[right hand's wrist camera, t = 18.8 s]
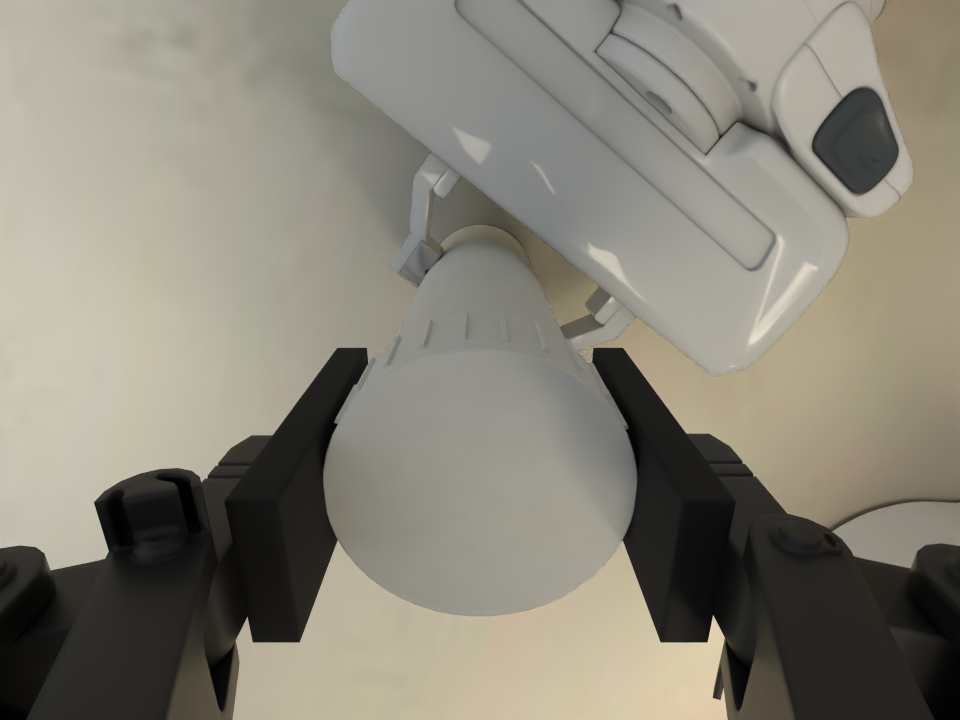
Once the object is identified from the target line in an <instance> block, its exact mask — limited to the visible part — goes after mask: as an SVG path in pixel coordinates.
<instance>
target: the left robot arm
mask: <svg viewBox="0 0 960 720" xmlns="http://www.w3.org/2000/svg"><path fill="white" fill-rule="evenodd" d="M888 1H889V0H348V2H347V3H346V5H345V6H344V8H343V9H342V11H341V12H340V14H339V16H338V17H337V19H336V21H335V23H334V25H333V27H332V29H331V33H330V42H331V53H332V61H333V68H334V71H335V73H336V74H337V75H338V76H339V77H340V78H342V79H343V80H344V81H345V82H346V83H348V84H349V85H350V86H351V87H353V88H354V89H355V90H356V91H358V92H359V93H360V94H361V95H363V96H364V97H365V98H366V99H368V100H369V101H370V102H371V103H373V104H374V105H375V106H376V107H377V108H379V109H380V110H381V111H382V112H384V113H385V114H386V115H387V116H389V117H390V118H391V119H392V120H394V121H395V122H396V123H397V124H399V125H400V126H401V127H402V128H404V129H405V130H406V131H407V132H409V133H410V134H411V135H412V136H413V137H415V138H416V139H417V140H418V141H420V142H421V143H422V144H423V145H425V146H426V147H427V148H428V149H430V150H431V152H430V154H429V155H428V157H427V158H426V160H425V161H424V163H423V164H422V166H421V167H420V169H419V170H418V171H417V173H416V174H415V176H414V177H413V188H412V200H411V213H410V225H409V230H410V231H411V234H410V235H409V236H408V238H407V239H406V241H405V242H404V243H403V245H402V246H401V248H400V249H399V251H398V252H397V253H396V255H395V256H394V258H393V259H392V260H391V262H390V263H389V265H388V267H389V268H390V269H391V270H393V271H394V272H395V273H396V274H398V275H400V276H401V277H403V278H404V279H405V280H407V281H408V282H410V283H411V284H412V285H414V286H415V287H418V286H419V285H420V283H421V282H422V280H423V279H424V277H425V275H426V273H427V270H428V269H431V268H432V267H433V266H434V264H435V263H436V262H437V261H438V259H439V258H440V256H441V255H442V252H443V250H444V248H443V247H442V246H441V245H440V244H438V243H437V242H436V241H435V240H433V239H432V238H431V237H429V235H430V226H431V217H432V207H433V198H434V193H435V194H436V195H437V196H439V197H440V198H441V199H442V198H445V197H446V196H447V195H448V194H449V193H450V191H451V190H452V188H453V187H454V186H455V184H456V183H457V182H458V180H459V179H460V178H461V176H463V177H464V178H466V179H467V180H468V181H469V182H471V183H472V184H473V185H474V186H476V187H477V188H478V189H479V190H481V191H482V192H483V193H484V194H485V195H487V196H488V197H489V198H490V199H492V200H493V201H494V202H495V203H497V204H498V205H499V206H500V207H502V208H503V209H504V210H505V211H507V212H508V213H509V214H510V215H512V216H513V217H514V218H515V219H517V220H518V221H519V222H520V223H521V224H523V225H524V226H525V227H526V228H528V229H529V230H530V231H531V232H533V233H534V234H535V235H536V236H538V237H539V238H540V239H541V240H543V241H544V242H545V243H546V244H548V245H549V246H550V247H551V248H553V249H554V250H555V251H556V252H557V253H559V254H560V255H561V256H562V257H564V258H565V259H566V260H567V261H569V262H570V263H571V264H572V265H574V266H575V267H576V268H577V269H579V270H580V271H581V272H582V273H584V274H585V275H586V276H587V277H589V278H590V279H591V280H592V281H593V282H595V283H596V284H597V285H598V286H599V287H598V288H597V289H596V291H595V292H594V293H593V294H592V295H591V297H590V298H589V299H588V300H587V301H586V303H585V306H586V307H587V309H588V310H589V312H590V313H591V314H590V315H587V316H585V317H582V318H580V319H578V320H575V321H573V322H570V323H568V324H566V325H563V326H561V327H560V329H561V331H562V333H563V335H564V338H565V340H566V339H569V340H570V341H571V343H572V345H573V347H574V349H575V350H576V351H577V352H578V351H581V350H584V349H587V348H589V347H592V346H595V345H598V344H601V343H604V342H607V341H610V340H612V339H615V338H617V337H618V336H619V335H620V334H621V333H622V332H623V331H624V330H625V329H626V328H627V326H628V325H629V324H630V323H631V322H632V321H633V320H634V319H635V318H636V317H638V318H639V319H641V320H642V321H643V322H644V323H646V324H647V325H648V326H649V327H651V328H652V329H653V330H654V331H656V332H657V333H658V334H659V335H660V336H662V337H663V338H664V339H665V340H667V341H668V342H669V343H670V344H672V345H673V346H674V347H675V348H677V349H678V350H679V351H680V352H682V353H683V354H684V355H685V356H687V357H688V358H689V359H690V360H692V361H693V362H694V363H695V364H697V365H698V366H699V367H700V368H702V369H703V370H704V371H705V372H707V373H708V374H709V375H711V376H722V375H727V374H731V373H735V372H739V371H742V370H745V369H747V368H748V367H750V366H751V365H752V364H754V363H755V362H756V361H757V360H758V359H759V358H760V357H762V356H763V355H764V354H765V353H766V352H767V351H768V350H769V349H770V348H771V347H772V346H773V345H774V344H775V343H776V342H777V341H778V340H779V339H780V338H781V337H782V336H783V335H784V334H785V333H786V331H787V330H788V329H789V328H790V327H791V326H792V325H793V324H794V323H795V322H796V321H797V320H798V319H799V317H800V316H801V315H802V314H803V313H804V312H805V311H806V310H807V309H808V308H809V306H810V305H811V304H812V303H813V302H814V300H815V299H816V298H817V297H818V296H819V295H820V293H821V292H822V291H823V290H824V288H825V287H826V286H827V285H828V283H829V282H830V281H831V279H832V278H833V277H834V275H835V274H836V272H837V271H838V269H839V267H840V265H841V264H842V262H843V259H844V257H845V254H846V251H847V248H848V243H849V228H848V224H847V221H846V218H845V217H851V218H874V217H877V216H879V215H881V214H883V213H884V212H886V211H887V210H888V209H889V208H890V207H892V206H893V205H894V204H895V203H896V202H897V201H898V200H899V198H901V197H902V196H903V195H904V194H905V193H906V191H907V190H908V188H909V187H910V185H911V183H912V181H913V177H914V168H913V162H912V159H911V156H910V153H909V150H908V148H907V145H906V143H905V140H904V137H903V135H902V132H901V130H900V127H899V124H898V121H897V119H896V116H895V113H894V110H893V108H892V105H891V102H890V99H889V96H888V93H887V90H886V86H885V83H884V80H883V77H882V73H881V69H880V66H879V62H878V58H877V54H876V49H875V45H874V40H873V36H872V31H871V28H870V26H871V25H872V24H873V23H874V22H875V21H876V20H877V18H878V17H879V16H880V14H881V13H882V11H883V9H884V8H885V6H886V4H887V3H888ZM399 271H400V272H399ZM832 532H833V533H835V534H836V535H837V536H839V537H840V538H842V540H843V541H844V542H845V544H846V545H847V546H848V547H849V549H850V550H851V551H852V553H853V555H854V556H856V557H859V558H863V559H868V560H872V561H877V562H882V563H887V564H892V565H897V566H902V567H906V568H911V566H912V564H913V561H914V558H915V555H916V553H917V551H918V550H919V549H921V548H922V547H923V546H925V545H930V544H939V543H943V544H950V545H957V546H960V502H957V503H949V502H932V501H920V502H908V503H901V504H895V505H891V506H887V507H883V508H880V509H877V510H874V511H871V512H868V513H866V514H863V515H861V516H859V517H856V518H854V519H852V520H850V521H848V522H847V523H845V524H843V525H841V526H840V527H838V528H836V529H835V530H834V531H832Z"/></svg>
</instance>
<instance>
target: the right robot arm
mask: <svg viewBox="0 0 960 720" xmlns="http://www.w3.org/2000/svg"><path fill="white" fill-rule="evenodd" d="M592 363H593V364H594V366H595V368H596V369H597V371H598V373H599V375H600V377H601V379H602V381H603V382H604V384H605V386H606V388H607V390H608V391H609V392H610V394H611V396H612V398H613V400H614V402H615V403H616V405H617V407H618V409H619V411H620V413H621V414H622V416H623V418H624V420H625V422H626V424H627V426H628V429H627V430H626V432H627V434H628V437H629V440H630V442H631V445H632V448H633V451H634V455H635V460H636V466H637V489H636V497H635V505H634V512H633V516H632V520H631V523H630V525H629V527H628V529H627V532H626V534H625V536H624V538H623V542H624V544H625V547H626V550H627V553H628V555H629V558H630V561H631V563H632V566H633V569H634V571H635V574H636V577H637V580H638V582H639V585H640V588H641V590H642V593H643V596H644V599H645V601H646V604H647V607H648V609H649V612H650V615H651V617H652V620H653V623H654V626H655V628H656V631H657V634H658V636H659V639H660V642H708V637H709V632H710V627H711V622H712V617H713V615H714V617H715V619H716V621H717V623H718V625H719V627H720V629H721V631H722V633H723V635H724V637H725V640H724V645H723V649H722V654H721V659H720V663H719V668H718V672H717V677H716V681H715V686H714V693H713V698H715V699H719V700H721V695H722V691H723V687H724V693H725V701H726V709H727V717H728V720H960V546H957V545H950V544H943V543H939V544H930V545H925V546H923V547H922V548H921V549H919V550H918V551H917V553H916V555H915V558H914V561H913V564H912V566H911V568H906V567H902V566H897V565H892V564H887V563H882V562H877V561H872V560H868V559H863V558H859V557H856V556H854V555H853V553H852V551H851V550H850V549H849V547H848V546H847V545H846V544H845V542H844V541H843V540H842V538H840V537H839V536H837V535H836V534H835V533H833V532H832V531H830V530H829V529H828V528H826V527H824V526H822V525H820V524H817V523H815V522H813V521H811V520H809V519H806V518H802V517H798V516H794V515H790V514H787V513H786V512H785V510H784V509H783V508H782V507H781V506H780V504H779V503H778V502H777V501H776V500H775V499H774V497H773V496H772V495H771V494H770V493H769V492H768V490H767V489H766V488H765V487H764V486H763V485H762V483H761V482H760V481H759V480H758V479H757V478H756V477H753V473H752V472H751V471H750V469H749V468H748V467H747V466H746V465H745V464H743V463H742V460H741V459H740V458H739V457H738V455H737V454H736V453H735V452H734V451H733V450H732V448H731V447H730V446H728V445H727V444H725V443H723V442H722V441H720V440H718V439H717V438H715V437H713V436H712V435H710V434H686V433H685V431H684V430H683V429H682V427H681V426H680V425H679V423H678V422H677V421H676V419H675V418H674V417H673V415H672V414H671V412H670V411H669V410H668V408H667V407H666V406H665V404H664V403H663V402H662V400H661V399H660V398H659V396H658V395H657V394H656V392H655V391H654V389H653V388H652V387H651V385H650V384H649V383H648V381H647V380H646V379H645V377H644V376H643V375H642V373H641V372H640V371H639V369H638V368H637V366H636V365H635V364H634V362H633V361H632V360H631V358H630V357H629V356H628V354H627V353H626V352H625V350H624V349H623V348H594V349H593V361H592ZM367 365H368V357H367V348H337V349H336V351H335V352H334V353H333V355H332V356H331V357H330V359H329V360H328V362H327V363H326V364H325V366H324V367H323V368H322V370H321V371H320V372H319V374H318V375H317V376H316V378H315V379H314V380H313V382H312V383H311V385H310V386H309V387H308V389H307V390H306V391H305V393H304V394H303V395H302V397H301V398H300V399H299V401H298V402H297V403H296V405H295V406H294V408H293V409H292V410H291V412H290V413H289V414H288V416H287V417H286V418H285V420H284V421H283V422H282V424H281V425H280V426H279V428H278V429H277V431H276V432H275V433H274V435H273V436H250V437H248V438H247V439H245V440H244V441H242V442H240V443H239V444H237V445H235V446H234V447H232V448H231V449H230V450H229V451H228V452H227V453H226V455H225V456H224V457H223V458H222V459H221V461H220V462H219V463H218V466H215V468H214V469H213V470H212V471H211V472H210V473H209V475H208V479H204V481H203V482H202V483H201V480H200V477H199V476H198V475H196V474H195V473H194V472H192V471H189V470H184V469H179V468H174V469H159V470H154V471H150V472H146V473H141V474H138V475H136V476H133V477H131V478H128V479H126V480H123V481H121V482H119V483H117V484H116V485H114V486H112V487H111V488H109V489H108V490H106V491H104V492H103V493H102V495H101V496H100V497H99V498H98V499H97V500H96V501H95V502H94V504H95V507H96V510H97V514H98V517H99V520H100V523H101V527H102V530H103V533H104V536H105V540H106V543H107V546H108V549H109V552H108V554H107V556H106V558H105V559H103V560H99V561H95V562H90V563H85V564H80V565H75V566H71V567H66V568H61V569H56V570H51V571H50V568H49V565H48V562H47V560H46V557H45V554H44V553H43V552H41V551H40V550H39V549H37V548H36V547H28V546H14V547H7V548H1V549H0V720H232V718H233V711H234V703H235V695H236V687H237V679H238V671H239V656H238V649H237V645H236V638H237V636H238V634H239V632H240V630H241V628H242V626H243V624H244V622H245V620H246V618H247V616H248V621H249V625H250V630H251V635H252V640H253V642H300V640H301V637H302V635H303V632H304V629H305V626H306V624H307V621H308V618H309V616H310V613H311V610H312V608H313V605H314V602H315V599H316V597H317V594H318V591H319V589H320V586H321V583H322V580H323V578H324V575H325V572H326V570H327V567H328V564H329V562H330V559H331V556H332V553H333V551H334V548H335V545H336V543H337V540H338V539H337V537H336V535H335V533H334V531H333V529H332V526H331V524H330V522H329V518H328V515H327V509H326V502H325V494H324V485H323V467H324V462H325V456H326V452H327V449H328V446H329V443H330V440H331V437H332V435H333V433H334V431H335V429H336V427H337V425H338V424H336V423H334V422H335V419H336V417H337V416H338V414H339V412H340V410H341V408H342V406H343V405H344V403H345V401H346V399H347V397H348V396H349V394H350V392H351V390H352V388H353V386H354V385H357V384H358V382H359V380H360V378H361V376H362V374H363V372H364V371H365V369H366V367H367Z"/></svg>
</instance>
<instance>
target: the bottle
mask: <svg viewBox="0 0 960 720" xmlns="http://www.w3.org/2000/svg"><path fill="white" fill-rule="evenodd" d="M440 245H441V246H442V247H443V248H444V250H443V252H442V255H441V256H440V258H439V259H438V261H437V262H436V263H435V264H434V266H433V267H432V268H431V269H428V270H427V273H426V275H425V277H424V279H423V280H422V282H421V284H420V286H419V288H418V291H417V293H416V295H415V297H414V299H413V301H412V304H411V306H410V308H409V310H408V312H407V314H406V317H405V319H404V321H403V323H402V325H401V327H400V330H399V332H398V334H397V335H400V337H401V336H403V335H405V334H407V333H408V332H410V331H412V330H414V329H415V328H417V327H420V326H422V325H425V324H426V321H427V320H429V319H432V321H435V320H439V319H443V318H446V317H450V316H456V315H462V312H465V311H467V312H468V314H496V315H499V313H500V312H504V313H505V316H510V317H514V318H518V319H522V320H526V321H528V322H531V323H533V324H534V323H535V321H537V322H539V323H540V325H541V327H543V328H545V329H547V330H548V331H550V332H552V333H554V334H556V335H557V336H559V337H560V338H562V339H563V340H564V341H565V338H564V335H563V333H562V331H561V329H560V327H559V325H558V322H557V320H556V318H555V316H554V314H553V312H552V309H551V307H550V305H549V303H548V301H547V299H546V296H545V294H544V292H543V290H542V288H541V286H540V283H539V281H538V279H537V277H536V275H535V273H534V271H533V268H532V266H531V264H530V262H529V260H528V258H527V255H526V253H525V251H524V250H523V248H522V246H521V245H520V244H519V242H518V241H517V240H516V239H515V238H514V237H512V236H511V235H510V234H509V233H507V232H505V231H504V230H501V229H499V228H497V227H493V226H489V225H472V226H467V227H464V228H461V229H459V230H457V231H455V232H453V233H452V234H450V235H449V236H448V237H447V238H446V239H445V240H444V241H443V242H442V243H441V244H440Z"/></svg>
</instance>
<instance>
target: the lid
mask: <svg viewBox="0 0 960 720" xmlns="http://www.w3.org/2000/svg"><path fill="white" fill-rule="evenodd" d="M334 423H336V424H338V425H337V427H336V429H335V431H334V433H333V435H332V437H331V440H330V443H329V446H328V449H327V452H326V456H325V462H324V467H323V485H324V494H325V502H326V509H327V515H328V518H329V522H330V524H331V526H332V529H333V531H334V533H335V535H336V537H337V539H338V541H339V542H340V544H341V546H342V547H343V549H344V550H345V552H346V553H347V555H348V556H349V557H350V558H351V559H352V561H353V562H354V563H355V564H356V565H357V567H358V568H360V569H361V570H362V571H363V572H364V573H365V574H366V575H367V576H368V577H369V578H370V579H372V580H373V581H374V582H376V583H377V584H379V585H380V586H381V587H383V588H384V589H386V590H387V591H389V592H391V593H393V594H394V595H396V596H398V597H400V598H402V599H404V600H406V601H409V602H411V603H413V604H416V605H418V606H421V607H425V608H428V609H431V610H434V611H439V612H444V613H449V614H455V615H465V616H495V615H505V614H512V613H516V612H521V611H526V610H529V609H533V608H536V607H539V606H542V605H545V604H547V603H549V602H552V601H554V600H556V599H559V598H561V597H563V596H564V595H566V594H568V593H570V592H571V591H573V590H575V589H576V588H578V587H579V586H581V585H582V584H583V583H585V582H586V581H587V580H589V579H590V578H591V577H592V576H593V575H594V574H595V573H597V572H598V571H599V570H600V569H601V568H602V567H603V566H604V565H605V564H606V562H607V561H608V560H609V559H610V557H611V556H612V555H613V554H614V553H615V551H616V549H617V548H618V546H619V545H620V543H621V541H622V540H623V538H624V536H625V534H626V532H627V529H628V527H629V525H630V523H631V520H632V516H633V512H634V505H635V497H636V489H637V466H636V460H635V455H634V451H633V448H632V445H631V442H630V440H629V437H628V434H627V432H626V430H627V429H628V426H627V424H626V422H625V420H624V418H623V416H622V414H621V413H620V411H619V409H618V407H617V405H616V403H615V402H614V400H613V398H612V396H611V394H610V392H609V391H608V390H607V388H606V386H605V384H604V382H603V381H602V379H601V377H600V375H599V373H598V371H597V369H596V368H595V366H594V364H593V363H592V362H590V363H589V364H588V363H587V361H586V360H585V359H584V358H583V357H582V356H581V355H580V354H579V353H578V352H577V351H576V350H575V349H574V347H573V345H572V343H571V341H570V340H569V339H566V340H565V341H564V340H563V339H562V338H560V337H559V336H557V335H556V334H554V333H552V332H550V331H548V330H547V329H545V328H543V327H541V325H540V323H539V322H537V321H535V323H534V324H533V323H531V322H528V321H526V320H522V319H518V318H514V317H510V316H505V313H504V312H500V313H499V315H496V314H468V312H467V311H465V312H462V315H456V316H450V317H446V318H443V319H439V320H435V321H432V319H429V320H427V321H426V324H425V325H422V326H420V327H417V328H415V329H414V330H412V331H410V332H408V333H407V334H405V335H403V336H401V337H400V335H397V336H396V337H395V338H394V340H393V343H392V344H391V345H390V346H388V347H387V348H386V349H385V350H384V351H383V352H382V353H381V354H380V355H379V356H378V357H377V358H376V359H375V358H373V357H372V359H371V360H370V361H369V363H368V365H367V367H366V369H365V371H364V372H363V374H362V376H361V378H360V380H359V382H358V384H357V385H354V386H353V388H352V390H351V392H350V394H349V396H348V397H347V399H346V401H345V403H344V405H343V406H342V408H341V410H340V412H339V414H338V416H337V417H336V419H335V422H334Z"/></svg>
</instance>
